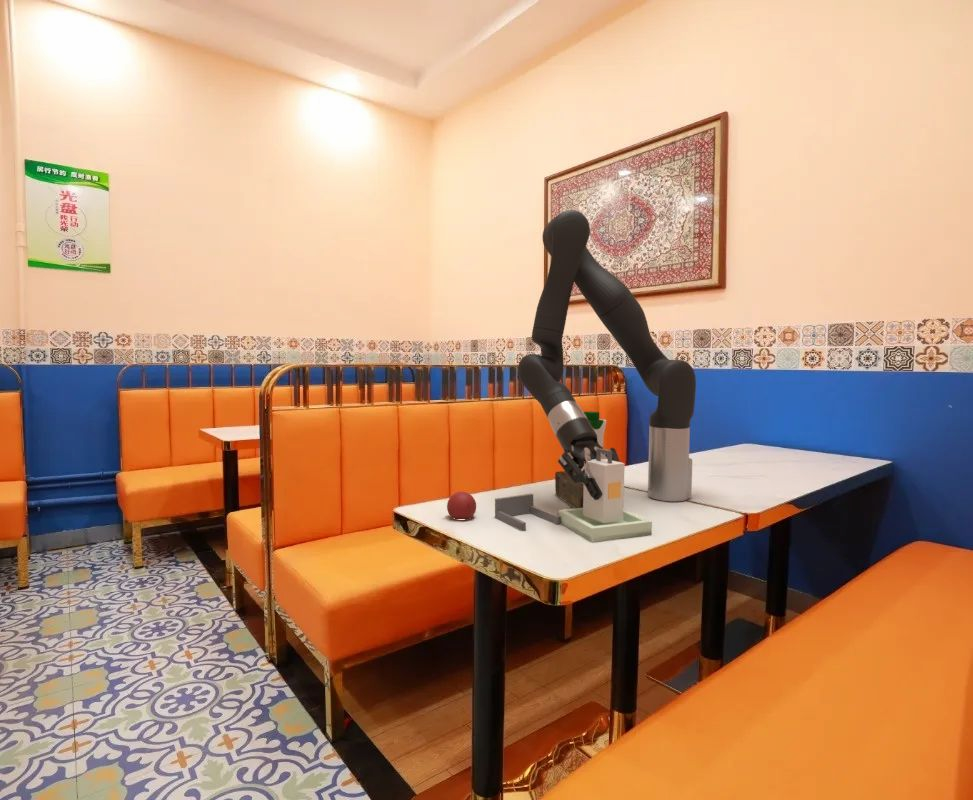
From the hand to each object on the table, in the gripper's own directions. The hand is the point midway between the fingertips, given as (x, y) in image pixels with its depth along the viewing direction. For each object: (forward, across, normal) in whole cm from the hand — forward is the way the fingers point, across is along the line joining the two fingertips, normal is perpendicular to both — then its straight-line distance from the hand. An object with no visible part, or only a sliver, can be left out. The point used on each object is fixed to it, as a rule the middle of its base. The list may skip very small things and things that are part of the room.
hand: (609, 495), depth 103 cm
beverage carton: (-7, +9, +18) cm, 21 cm away
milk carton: (-16, +19, +26) cm, 37 cm away
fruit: (-10, -21, +20) cm, 30 cm away
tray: (+4, 0, +6) cm, 7 cm away
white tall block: (+2, 0, +5) cm, 5 cm away
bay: (-4, -10, +14) cm, 18 cm away
